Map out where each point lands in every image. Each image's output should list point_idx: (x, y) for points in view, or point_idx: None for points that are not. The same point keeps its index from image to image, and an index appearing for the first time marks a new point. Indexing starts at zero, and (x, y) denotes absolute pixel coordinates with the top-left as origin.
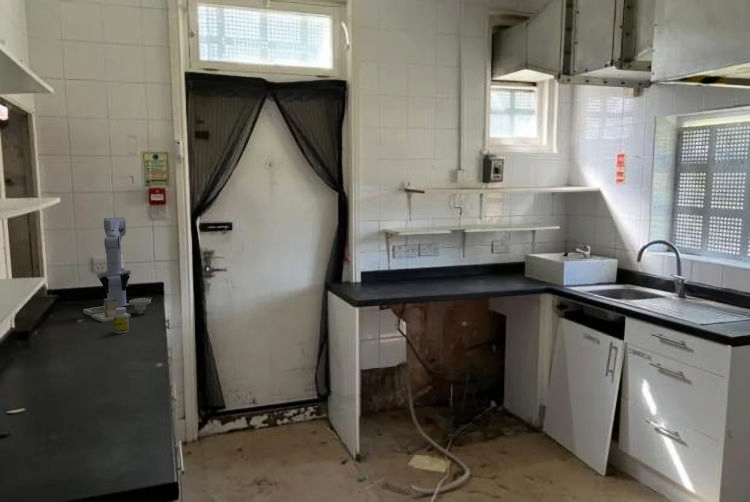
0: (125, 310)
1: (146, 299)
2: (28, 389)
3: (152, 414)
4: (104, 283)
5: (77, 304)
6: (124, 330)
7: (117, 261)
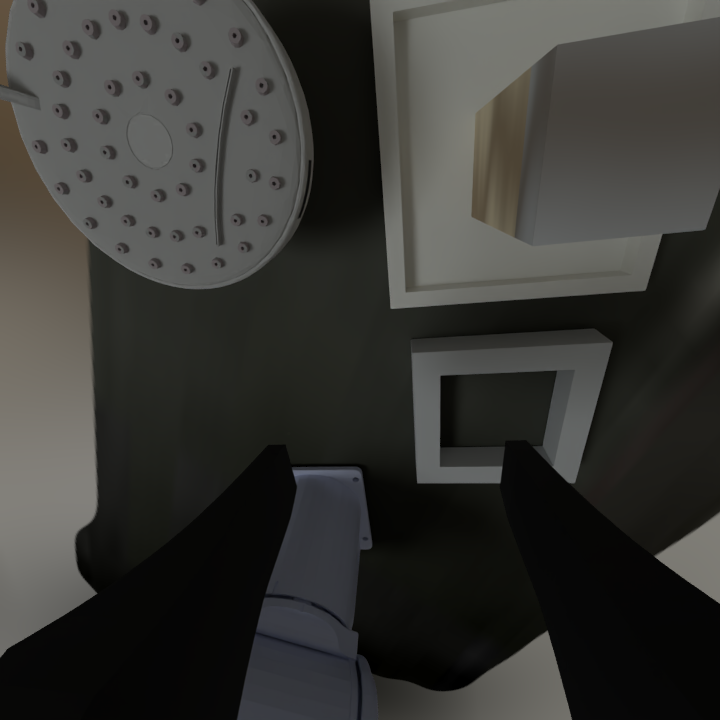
0: None
1: (59, 71)
2: None
3: None
4: (708, 610)
5: (468, 618)
6: None
7: None
